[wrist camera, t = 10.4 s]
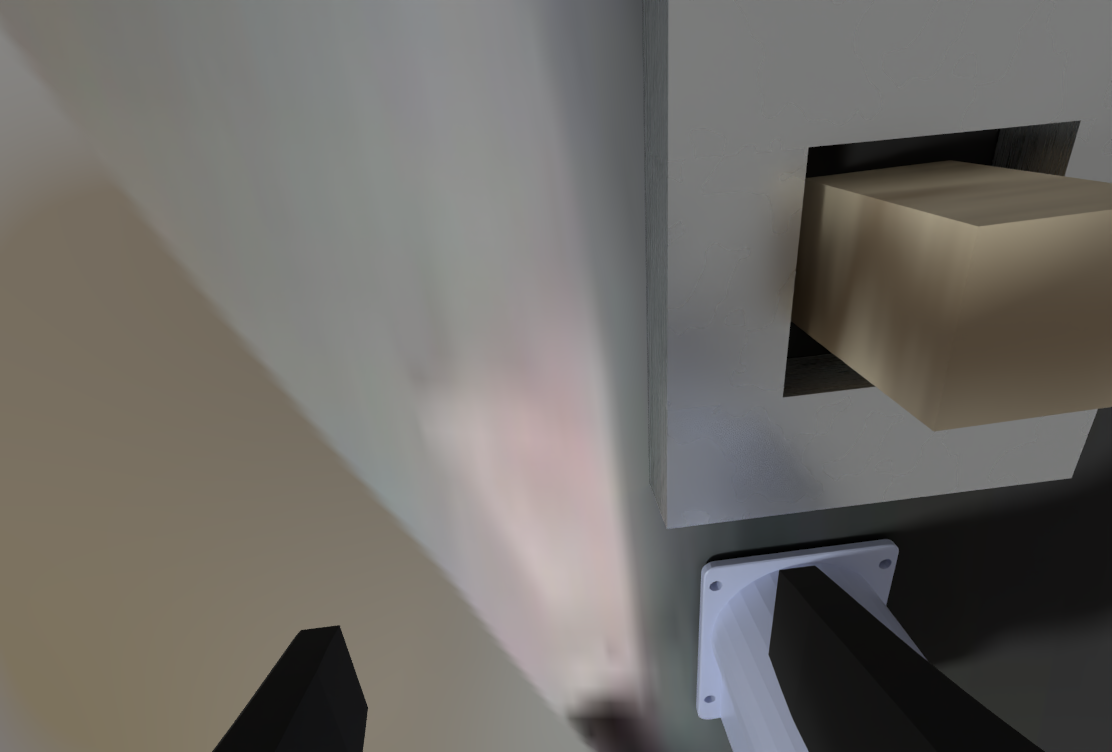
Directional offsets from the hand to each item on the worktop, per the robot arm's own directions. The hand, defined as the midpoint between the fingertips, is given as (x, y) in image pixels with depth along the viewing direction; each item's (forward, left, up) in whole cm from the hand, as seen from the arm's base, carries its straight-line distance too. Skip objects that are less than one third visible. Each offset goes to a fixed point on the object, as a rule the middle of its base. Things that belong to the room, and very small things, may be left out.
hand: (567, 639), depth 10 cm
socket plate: (+3, -11, -10) cm, 15 cm away
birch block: (+3, -11, -10) cm, 15 cm away
